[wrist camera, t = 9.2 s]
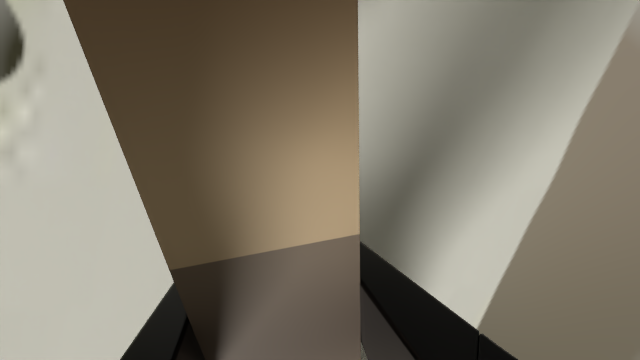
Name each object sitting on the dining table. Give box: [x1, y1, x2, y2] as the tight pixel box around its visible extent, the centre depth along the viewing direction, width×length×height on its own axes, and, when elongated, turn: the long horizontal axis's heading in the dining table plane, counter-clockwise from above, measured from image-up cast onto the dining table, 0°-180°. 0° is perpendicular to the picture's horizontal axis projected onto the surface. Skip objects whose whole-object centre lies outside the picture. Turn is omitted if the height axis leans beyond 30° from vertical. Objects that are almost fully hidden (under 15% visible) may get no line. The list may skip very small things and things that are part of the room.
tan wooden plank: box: [63, 0, 361, 360], centre depth 7 cm, size 14×3×3 cm, turn 4°
